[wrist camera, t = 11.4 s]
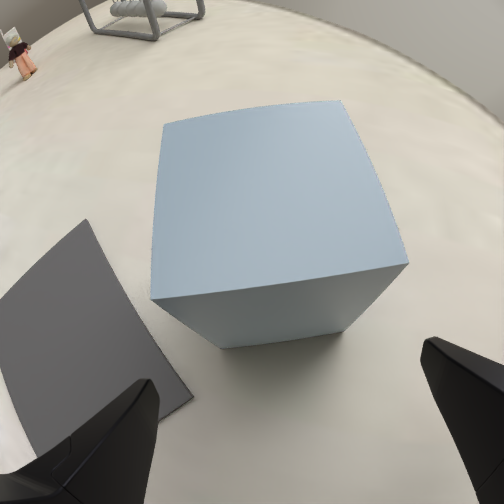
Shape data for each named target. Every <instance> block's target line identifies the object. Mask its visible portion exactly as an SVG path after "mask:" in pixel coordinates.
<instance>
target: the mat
mask: <svg viewBox="0 0 504 504" xmlns="http://www.w3.org/2000/svg"><path fill="white" fill-rule="evenodd" d="M0 368H1V371H2V374H3V377H4V380H5V383H6V386H7V389H8V392H9V395H10V397H11V400H12V403H13V405H14V408H15V410H16V413H17V415H18V417H19V420H20V422H21V424H22V427H23V429H24V431H25V433H26V435H27V437H28V439H29V441H30V444H31V446H32V448H33V450H34V451H35V453H36V455H37V457H40V456H41V455H43V454H44V453H46V452H47V451H49V450H50V449H52V448H53V447H55V446H56V445H57V444H59V443H60V442H61V441H63V440H64V439H65V438H66V437H68V436H70V435H71V433H73V432H74V431H75V430H76V429H78V428H79V427H80V426H81V425H83V424H84V423H85V422H86V421H88V420H89V419H90V418H91V417H93V416H94V415H95V414H96V413H98V412H99V411H100V410H101V409H103V408H104V407H105V406H106V405H107V404H109V403H110V402H111V401H112V400H114V399H115V398H116V397H117V396H118V395H120V394H121V393H122V392H123V391H124V390H126V389H127V388H128V387H129V386H131V385H132V384H133V383H134V382H135V381H137V380H138V379H140V378H150V379H151V380H152V381H153V383H154V385H155V387H156V390H157V392H158V394H159V397H160V408H159V417H158V421H160V420H161V419H163V418H164V417H166V416H167V415H168V414H170V413H171V412H173V411H174V410H176V409H177V408H179V407H180V406H181V405H183V404H184V403H186V402H187V401H189V400H190V399H191V398H193V397H194V396H193V395H192V394H191V392H190V391H189V390H188V388H187V387H186V386H185V384H184V383H183V382H182V380H181V379H180V377H179V376H178V375H177V373H176V372H175V370H174V369H173V367H172V366H171V365H170V363H169V362H168V360H167V359H166V357H165V356H164V354H163V353H162V351H161V350H160V348H159V347H158V345H157V344H156V342H155V341H154V339H153V338H152V336H151V335H150V333H149V331H148V330H147V328H146V327H145V325H144V323H143V322H142V320H141V319H140V317H139V315H138V314H137V312H136V310H135V309H134V307H133V305H132V304H131V302H130V300H129V299H128V297H127V295H126V293H125V292H124V290H123V288H122V286H121V284H120V283H119V281H118V279H117V277H116V275H115V274H114V272H113V270H112V268H111V266H110V264H109V262H108V260H107V259H106V257H105V255H104V253H103V251H102V249H101V247H100V245H99V243H98V241H97V239H96V237H95V235H94V233H93V230H92V228H91V226H90V224H89V222H88V220H87V219H85V220H83V221H82V222H81V223H80V224H79V225H77V226H76V227H75V228H74V229H73V230H72V231H70V232H69V233H68V234H67V235H66V236H65V237H64V238H62V239H61V240H60V241H59V242H58V243H57V244H56V245H55V246H53V247H52V248H51V249H50V250H49V251H48V252H47V253H46V254H45V255H44V256H43V257H42V258H41V259H39V260H38V261H37V262H36V263H35V264H34V265H33V266H32V267H31V268H30V269H29V270H28V271H27V272H26V273H25V274H24V275H23V276H22V277H21V278H20V279H19V280H18V281H17V282H16V283H15V284H14V285H13V286H12V287H11V288H10V290H9V291H8V292H7V293H6V294H5V295H4V296H3V297H2V298H1V299H0Z"/></svg>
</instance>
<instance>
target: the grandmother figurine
mask: <svg viewBox="0 0 504 504" xmlns="http://www.w3.org/2000/svg"><path fill="white" fill-rule="evenodd" d="M18 41H19V40H18V34H17V33H12V34H10V35H9V36H8V37H7V38H6V42H5V44H6V45H7V46H9V47H12V49H11V50H10V53H9V65H10V66H9V67H10V68H13V66H14V65H13V60H14V59H15V61H16V63H17V66H18V69H19V72H20V73H21V75H22V77H24V78H23V81H25V80H27V79H28V78H30V77H31V74H32V73H34V72H35V71H36V70H37V68H36V66H35V65H34V63H33V62H32V60H31V59H30V58H29V56H28V55H27V54H26V52H25V50H24V49H27V50H30V49H31V46H29V45H28V44H27V43H24V42H21V43H18Z"/></svg>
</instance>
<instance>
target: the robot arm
mask: <svg viewBox="0 0 504 504" xmlns="http://www.w3.org/2000/svg"><path fill="white" fill-rule="evenodd" d="M420 362H421V366H422V368H423V371H424V373H425V376H426V379H427V381H428V384H429V387H430V389H431V392H432V395H433V397H434V400H435V402H436V404H437V406H438V408H439V410H440V412H441V414H442V416H443V418H444V420H445V422H446V425H447V427H448V429H449V431H450V433H451V435H452V437H453V440H454V442H455V444H456V446H457V449H458V451H459V453H460V455H461V458H462V460H463V462H464V465H465V467H466V470H467V472H468V475H469V477H470V480H471V482H472V485H473V487H474V490H475V492H476V496H477V498H478V501H479V504H504V365H502V364H499V363H497V362H495V361H492V360H490V359H487V358H485V357H483V356H480V355H478V354H476V353H473V352H471V351H469V350H466V349H464V348H462V347H459V346H457V345H455V344H452V343H450V342H448V341H445V340H443V339H441V338H438V337H431V338H427V339H426V340H425V341H424V343H423V348H422V353H421V358H420ZM159 408H160V397H159V394H158V392H157V390H156V387H155V385H154V383H153V381H152V380H151V379H150V378H140V379H138V380H137V381H135V382H134V383H133V384H132V385H131V386H129V387H128V388H127V389H126V390H124V391H123V392H122V393H121V394H120V395H118V396H117V397H116V398H115V399H114V400H112V401H111V402H110V403H109V404H107V405H106V406H105V407H104V408H103V409H101V410H100V411H99V412H98V413H96V414H95V415H94V416H93V417H91V418H90V419H89V420H88V421H86V422H85V423H84V424H83V425H81V426H80V427H79V428H78V429H76V430H75V431H74V432H73V433H71V435H70V436H68V437H66V438H65V439H64V440H63V441H61V442H60V443H59V444H57V445H56V446H55V447H53V448H52V449H50V450H49V451H47V452H46V453H44V454H43V455H41V456H40V457H38V458H37V459H35V460H33V461H32V462H30V463H29V464H27V465H25V466H24V467H22V468H20V469H19V470H17V471H15V472H12V473H9V474H0V504H144V498H145V493H146V488H147V483H148V478H149V473H150V468H151V463H152V458H153V453H154V448H155V444H156V438H157V428H158V417H159Z"/></svg>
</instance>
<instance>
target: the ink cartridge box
mask: <svg viewBox="0 0 504 504" xmlns="http://www.w3.org/2000/svg"><path fill="white" fill-rule="evenodd" d="M0 32H1V35H2V37H3V39H4V41H5V42H6V38H7V37H8V36H9V35H10V34H12V33H17V34H18V32H17V30H16V28H15V27H14V28H12V29H11V30H10V31H8V32H7V33H6V34H4V35H3V33H2V31H1V29H0ZM18 40H19V41H18V43H21V42H22V40H21V38H20V36H19V34H18ZM7 47H8V48H9V50H11V49H12V47H9V46H7ZM24 50H25V52H26V54H28V52H27V51H26V49H24Z"/></svg>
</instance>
